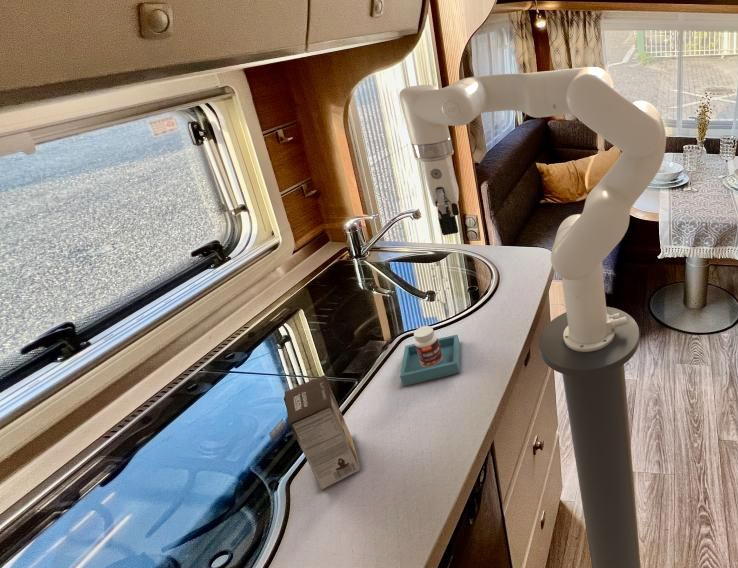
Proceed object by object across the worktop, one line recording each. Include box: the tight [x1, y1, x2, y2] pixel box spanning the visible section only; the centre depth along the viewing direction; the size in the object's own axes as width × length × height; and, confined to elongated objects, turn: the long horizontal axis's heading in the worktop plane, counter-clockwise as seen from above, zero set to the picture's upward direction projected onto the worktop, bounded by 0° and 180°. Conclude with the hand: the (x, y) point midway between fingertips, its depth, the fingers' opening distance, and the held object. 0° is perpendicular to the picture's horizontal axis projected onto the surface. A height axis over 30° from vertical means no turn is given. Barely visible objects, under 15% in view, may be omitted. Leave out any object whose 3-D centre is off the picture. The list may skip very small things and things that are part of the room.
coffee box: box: [284, 374, 361, 490], centre depth 87 cm, size 9×6×16 cm
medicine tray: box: [399, 334, 461, 387], centre depth 112 cm, size 12×11×3 cm
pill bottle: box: [413, 325, 443, 368], centre depth 111 cm, size 5×5×8 cm
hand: (451, 224), depth 108 cm, fingers open, 9 cm apart
